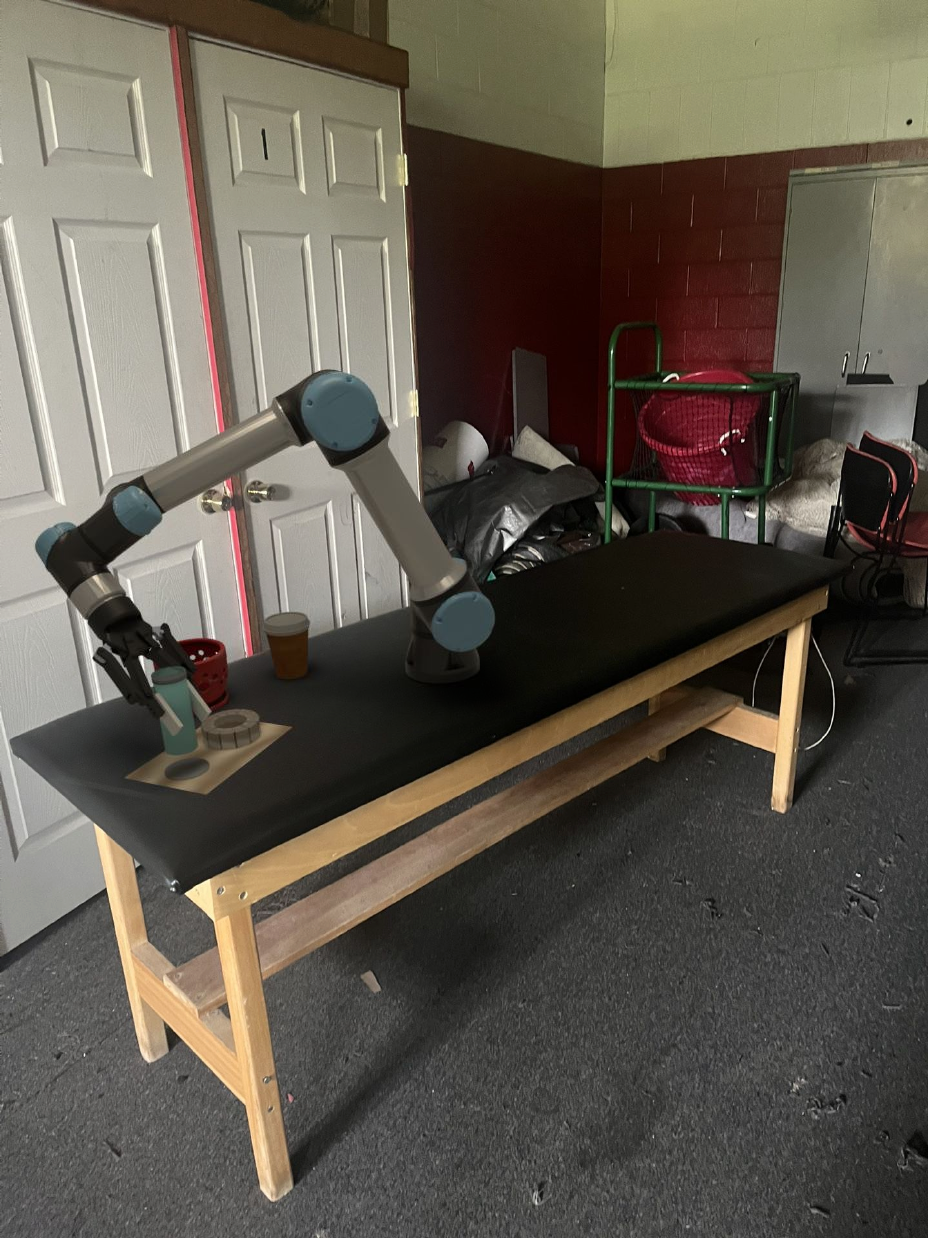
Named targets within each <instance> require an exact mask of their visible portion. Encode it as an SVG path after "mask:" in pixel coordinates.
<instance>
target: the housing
mask: <svg viewBox="0 0 928 1238" xmlns="http://www.w3.org/2000/svg"><path fill="white" fill-rule="evenodd" d="M200 724H201V725H200V726H199V727H198V728H195V730H196V736H197V742H198V747H197V748H196V749H195V750H194V751H192V752H190V753H187V754H183V755H169V754H167V753H166V751H165V750H164V751H163V752H160V753H159V754H158V755H157V756H154V757H153V758H152V759H150V760H149V761H147V762H146V763H144V764H142V765H141V766H139V768H137V769H135V770H134V771H132V772H131V773H129V774H128V775H126V776H125V777H124V779H125V780H126V779H127V780H131V781H136V782H142V783H146V784H152V785H156V786H161V787H165V788H171V789H175V790H176V789H177V790H181V791H187V792H191V793H196V794H200V795H205V796H207V795H208V794H209V793H211V792H212V791H213V790H215V788H216V787H218V786H220V785H221V784H222V783H223V782H225V781H226V780H227V779H228V778H229V777H231V776H232V775H234V774H235V773H236V772H237V771H238V770H239V769H241V768H242V767H244V766H245V765H246V764H247V763H249V762H250V761H252V759H254V758H255V757H257V755H259V754H261V753H262V752H263V751H264V750H266V748H268V747H270V745H272V744H274V742H276V741H277V740H278V739H280V738H281V737H282V736H284V735H285V734H287V732H289V731H290V730H291V729H292V728H293V726H289V725H288V726H287V725H281V724H275V723H268V722H262V721H260V715H259V714H258V713H257V712H255V711H254V710H250V709H244V708H241V709H240V708H234V709H227V710H222V711H219V712H216V713H213V714H209V716H208V717H207V718H206V719H205V720H204V721H202V722H201V723H200Z"/></svg>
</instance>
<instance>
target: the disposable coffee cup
mask: <svg viewBox="0 0 928 1238" xmlns="http://www.w3.org/2000/svg"><path fill="white" fill-rule="evenodd" d="M310 625H311V620H309V618H308V615H307V614H306V613H303V612H299V611H283V612H277V613H274V614H271V615H268V616H266V617H265V618H264V620H263V625H262V630H263V632H264V633H265V636H266V641H267V644H268V648H269V651H270V654H271V660H272V664H273V667H274V671H275V675H276V677H277V678H278V679H281V680H295V679H296V680H297V679H299V678H302V677H305V676H306V675H307V674H308V660H309V659H308V657H309V656H308V655H309V654H308V653H309V629H310Z"/></svg>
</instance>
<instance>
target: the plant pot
mask: <svg viewBox="0 0 928 1238" xmlns="http://www.w3.org/2000/svg"><path fill="white" fill-rule="evenodd" d="M176 641H177V640H176ZM177 642H178V643H179V645H180V646H181V647H182V648H183V650H184V651H185V652H186V654H187V655H188V656H189V658H190V659H191V660H192V662H193V663H194V664H195V665H196V667H197V671H196V673H195V674H194V675H193V677H192V680H193V681H194V683H195V684H196V685H197V687H198V688H199V689H200V691H201V692H202V696H201V698H202V699H203V701H204V702H205V703H206V705H207V706H208V707H209V709H210V710H211V711H212V712H214V711H218V710H219V709H221V708H223V707H224V706H225V705H226V704H227V702H228V700H229V699H230V697H229V692H228V691H227V689H226V687H227V683H228V678H229V666H228V655H227V650H226V649H227V648H226V646H225V644H224V643H223V642H221V641H220V640H217V639H214V638H208V637H207V638H206V637H199V638H198V637H195V638H188V639H186V638H185V639H182V640H178V641H177ZM161 648H162V647H161ZM162 649H163V648H162ZM163 650H164V649H163ZM164 651H165V650H164ZM200 651H202V652H203V654H200V653H199V652H200ZM191 656H193V657H194V659H192V658H191ZM206 658H207V659H206ZM152 663H153V664H152V666H153V670H154V671H156V670H159V669H161V668H159V667H158V666H157V665H156V664H155V663H154V662H153V661H152ZM154 671H153V672H154ZM192 713H193V717H195V716H197V715H196V714H195V713H194V711H193V710H192Z"/></svg>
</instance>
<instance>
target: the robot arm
mask: <svg viewBox="0 0 928 1238" xmlns="http://www.w3.org/2000/svg"><path fill="white" fill-rule="evenodd" d="M378 405H379V404H378V403H377V399H376V396H375V395H374V392H373V391H372V390H371V388H370V387H369V386H368V385H367V384H366V383H365V381H363V380H361V379H360V378H359V377H358V376H356V375H353V374H350V373H348V372H344V371H342V370H341V371H340V370H338V369H337V370H336V369H329V368H328V369H320V370H318V371H316V372H312V373H311V374H309V375H308V376H306V377H305V378H303V379H302V380H301V381H299V382H298V383H297V384H295V385H293V386H292V387H290V388H289V389H287V390H285V391H284V392H282V393H280V394H279V395H276V396H275V397H273V398H272V401H271V404H270V406H269V407H267V408H265V409H263V410H261V411H259V412H257V413H256V414H254V415H252V416H250V417H248V418H246V419H244V420H242V421H240V422H239V423H237V424H235V425H233V426H231V427H229V428H228V429H226V430H224V431H222V432H220V433H218V434H216V435H214V436H213V437H210V438H209V439H206V440H205V441H203V442H202V443H201V442H200V443H199V444H197V445H195V446H194V447H192V448H190V449H188V450H185V451H184V452H182V453H179V454H178V455H177V456H174V457H173V458H171V459H169V460H167V461H165V462H164V463H161V464H159V465H158V466H155V467H154V468H152V469H150V470H149V471H147V472H145V473H143V474H142V475H139V476H137V477H135V478H133V479H131V480H130V481H127V482H121V483H119V484H117V485H116V486H114V487H112V488H111V489H110V490H109V492H108V493H107V494H106V498H105V501H104V502H103V504H102V506H101V507H100V508H99V509H97V511H95V512H94V513H93V514H92V515H90V517H89V518H87V519H86V520H84V522H81V524H79V525H76V524H75V523H73V522H70V521H63V522H59V523H56V524H54V525H53V526H51V527H48V528H47V529H45V530H44V531H42V532H41V533H40V534H39V536H38V537H37V539H36V541H35V543H34V550H35V552H36V554H37V555H38V557H39V558H40V560H41V562H42V563H43V565H44V568H45V569H46V571H47V572H48V573H49V574H50V575H51V577H52V578H53V579H54V581H56V583H57V584H58V586H59V587H60V588H61V590H62V591H63V592H64V594H65V595H66V596H67V598H69V600H70V602H71V603H72V604H73V606H74V607H75V609H77V610H76V611H78V613H79V614H80V615H81V616H82V618H83V620H85V621H87V625H88V626H89V628H90V629H91V631H92V632H93V633H94V634H95V636H96V638H97V639H98V640H99V641H101V642H102V643H101V644H102V646H99V647H97V649H96V650H95V652H94V654H93V656H92V657H91V658H92V660H93V662H94V663H96V664H97V665H99V666H100V667H102V668H103V670H104V671H105V672H106V673H105V674H106V675H107V676H108V677H109V678H110V680H111V681H112V682H113V684H114V685H115V686H116V688H117V690H118V691H119V692H120V694H121V695H122V696H123V698H124V700H126V702H127V704H129V705H131V706H133V705H135V704H138V705H139V706H140V707H145V708H146V709H147V710H148V711H149V712H150V714H151V716H152V717H153V718H155V719H156V720H157V719H159V720H160V719H161V721H162V722H163V723H164V725H165V726H166V727H167V729H168V730H169V732H170V733H171V734H172V736H174V735H176V734H177V733H178V732H179V731H180V730H181V728H182V727H183V724H182V723H181V722H180V720H179V719H178V718H177V716H176V715H175V714H174V712H173V711H172V709H171V708H170V707H169V705H168V704H167V703H166V701H165V700H164V699H163V697H162V696H161V695H160V693H156V694H155V693H154V692H153V690H152V686H151V684H150V682H149V679H148V678H147V675H146V672H145V670H144V667H143V665H142V663H141V661H140V659H139V658H140V657H142V656H143V657H144V658H145V659H146V660H148V661H149V660H150V661H151V662H152V663H153V662H154V663H155V664H156V665H157V666H158V667H159V668H161V669H162V668H166V667H172V666H179V667H184V668H185V669H186V674H187V677H186V678H187V684H188V689H189V695H190V701H191V707H192V710H193V711H194V713H195V714H196V715H195V716H196V717H197V718H198V719H199V721H200V722H201V723H202V721H204V720H205V719H206V718H207V717H209V716H210V715H211V713H213V711H211V710H210V709H209V707H208V706H207V705H206V703H205V702H204V701H203V699H202V698H201V696H202V692H201V691H200V689H199V688H198V687H197V685H196V684H195V683H194V681H193V680H192V677H193V675H194V674H195V673H196V671H197V667H196V665H195V664H194V663H193V662H192V660H193V659H192V658H191V657H190V658H189V656H188V655H187V654H186V652H185V651H184V650H183V648H182V647H181V646H180V645H179V643H178V642H177V639H176V638H175V637H174V635H173V634H172V631H171V628H170V624H168V623H167V622H162V624H160V626H159V625H158V626H156V625H155V626H152V625H151V624H150V623H149V622H147V621H145V619H143V618H144V617H143V616H142V612H141V611H140V609H139V608H138V607H137V605H136V604H135V602H134V601H133V600H132V599H131V597H130V596H127V592H126V590H125V588H124V587H123V586H122V585H121V584H120V582H119V581H118V580H117V579H116V577H115V576H114V575H113V573H112V572H111V570H109V567H108V565H110V564H111V563H113V562H114V561H115V560H116V559H117V558H118V557H120V556H121V555H122V554H123V553H125V552H127V551H128V550H129V549H130V548H132V547H133V546H134V545H136V544H137V543H138V542H139V541H141V540H142V539H143V538H144V537H145V536H149V535H150V534H151V533H152V531H153V530H154V529H155V528H156V527H157V526H158V525H160V524H161V523H162V522H163V521H162V520H163V515H164V514H166V513H167V512H169V511H171V510H174V508H177V507H179V506H180V505H182V504H185V503H187V502H188V501H190V500H192V499H194V498H195V497H197V496H199V495H201V494H203V493H205V492H207V491H209V490H211V489H212V488H214V487H216V486H218V485H221V484H222V483H224V482H225V481H228V480H230V479H231V478H233V477H235V476H237V475H239V474H241V473H242V472H245V471H247V470H249V469H251V468H253V467H255V466H256V465H258V464H259V463H262V462H263V461H264V462H265V460H267V459H269V458H271V457H273V456H274V455H276V454H277V455H278V454H279V453H280V452H283V451H285V450H286V449H289V448H290V447H291V446H292V447H293V446H294V447H298V448H302V447H304V446H306V445H308V444H310V443H312V442H315V443H316V445H317V447H318V449H319V450H320V452H321V454H322V455H323V456H324V458H325V459H326V461H327V463H328V465H329V466H330V468H331V469H335V470H338V471H342V472H344V474H345V476H346V478H347V479H348V481H349V483H350V485H352V487H353V489H354V490H355V492H356V494H357V496H358V497H359V498H360V500H361V503H362V504H363V505H364V507H365V509H366V510H367V512H368V513H369V515H370V517H371V519H372V520H373V522H374V524H375V525H376V528H377V529H378V531H379V532H380V534H381V536H382V537H383V539H384V541H385V542H386V544H387V545H388V547H389V549H390V550H391V552H392V554H393V556H394V557H395V559H396V560H397V563H398V564H399V566H400V567H401V569H402V570H403V573H404V574H405V575H406V577H407V580H406V581H408V593H409V594H408V595H409V609H410V625H411V637H410V641H409V645H408V649H407V653H406V657H405V659H404V660H405V662H404V665H405V673H406V675H407V676H408V677H409V678H410V679H412V680H415V681H417V682H421V683H425V684H435V685H436V684H451V683H457V682H460V681H466V680H467V679H471V678H472V677H474V676H475V675H477V673H478V672H479V671H480V670H481V669H480V666H481V664H480V655H479V653H478V650H477V648H478V647H479V646H481V645H482V644H484V642H485V641H486V640H487V639H488V638H489V636H491V633H492V631H493V629H494V625H495V621H496V616H495V615H496V614H495V610H494V608H493V605H492V602H491V601H490V599H489V598H487V596H486V595H484V594H483V593H482V590H481V589H480V588H479V586H478V585H477V582H476V581H475V579H474V577H473V576H472V574H471V572H470V570H469V569H468V566H467V565H468V564H467V561H466V560H465V559H462V558H458V557H452V556H451V554H450V553H449V551H448V548H447V547H446V545H445V544H444V542H443V540H442V538H441V537H440V535H439V533H438V531H437V529H436V528H435V526H434V524H433V523H432V520H431V519H430V517H429V516H428V514H427V512H426V510H425V508H424V506H423V504H422V503H421V502H420V500H419V498H418V496H417V494H416V492H415V491H414V489H413V488H412V486H411V484H410V482H409V480H408V478H407V477H406V475H405V473H404V472H403V469H402V468H401V466H400V465H399V463H398V461H397V459H396V458H395V456H394V454H393V452H392V451H391V449H390V447H389V441H390V437H391V431H390V429H389V428H388V427H389V426H387V423H386V422H385V420H384V418H383V416H382V415H381V413H380V411H379V406H378ZM153 636H154V637H155V638H153ZM162 648H163V649H164V650H165V651H164V650H163V649H162ZM114 655H116V656H118V657H119V659H120V660H121V661H120V662H121V663H120V662H119V660H118V659H117V658H116V656H114ZM191 659H192V660H191ZM123 667H124V668H123ZM125 669H126V670H125ZM153 694H154V695H153Z"/></svg>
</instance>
